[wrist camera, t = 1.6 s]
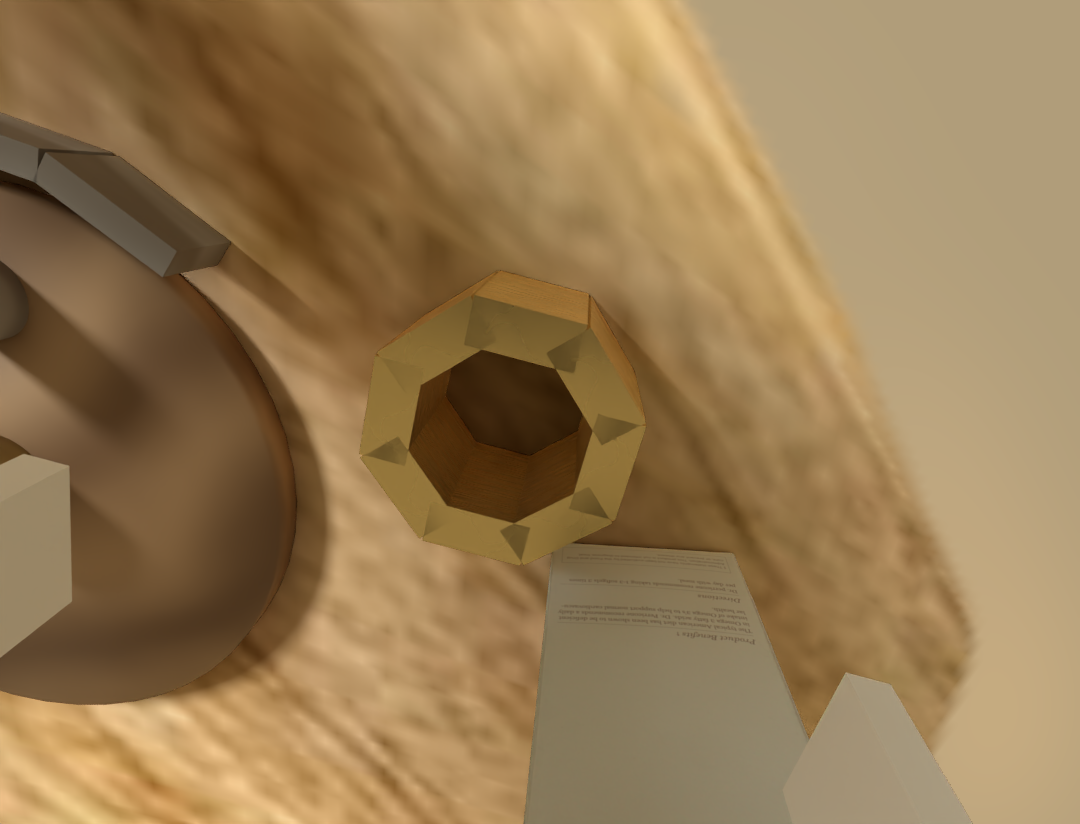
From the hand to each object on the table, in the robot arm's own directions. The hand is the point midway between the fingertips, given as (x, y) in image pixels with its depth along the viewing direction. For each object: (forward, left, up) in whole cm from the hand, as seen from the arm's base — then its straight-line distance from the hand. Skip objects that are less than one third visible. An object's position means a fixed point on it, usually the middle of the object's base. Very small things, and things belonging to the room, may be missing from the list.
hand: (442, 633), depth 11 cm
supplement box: (+11, -1, -13) cm, 17 cm away
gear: (0, 0, -13) cm, 13 cm away
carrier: (-8, -18, -13) cm, 24 cm away
